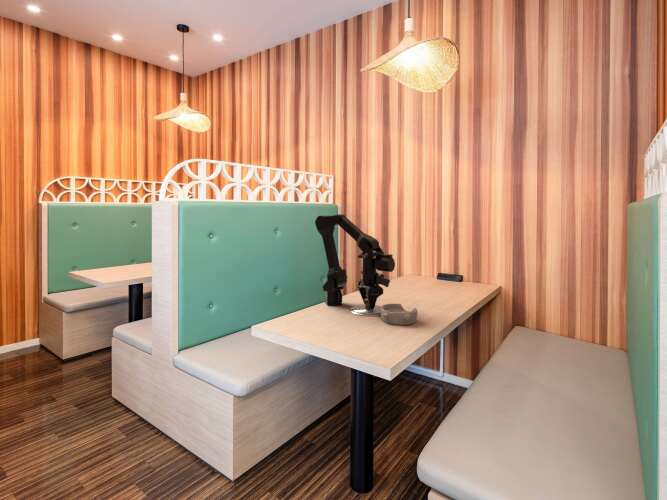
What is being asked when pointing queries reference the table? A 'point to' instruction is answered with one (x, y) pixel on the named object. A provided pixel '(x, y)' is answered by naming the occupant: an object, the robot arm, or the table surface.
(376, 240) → the robot arm
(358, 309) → the lid
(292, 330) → the table surface
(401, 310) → the dish
